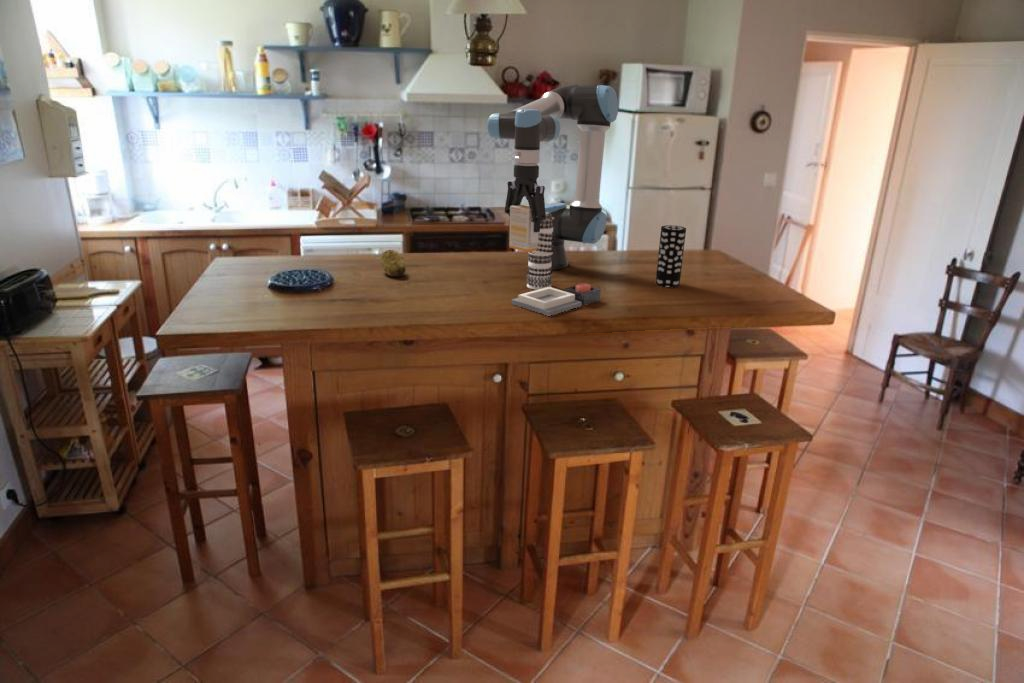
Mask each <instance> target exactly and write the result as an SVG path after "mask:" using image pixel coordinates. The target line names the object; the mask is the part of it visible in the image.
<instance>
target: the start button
mask: <svg viewBox="0 0 1024 683" xmlns="http://www.w3.org/2000/svg"><path fill="white" fill-rule="evenodd" d="M575 285H576V286H575ZM575 285H574V286H575V290H578V291H581V292H587V291H590V289H591V287H592V285H591V284H589V283H583V282H582V283H580V282H579V283H576V284H575Z"/></svg>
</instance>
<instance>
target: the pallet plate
mask: <svg viewBox="0 0 1024 683" xmlns="http://www.w3.org/2000/svg"><path fill="white" fill-rule="evenodd" d="M510 301H511V305H513V306H516V305H517V306H516V307H519V308H521V307H523V309H524V308H526V309H525V310H527V309H529V310H528V311H530V310H532V311H531V312H533V311H535V312H534V313H536V312H538V313H537V314H539V313H542V314H544V315H543V316H545V315H547V316H546V317H548V316H550V317H552V316H551V315H553V316H555V315H554V314H556V315H558V314H557V313H560V312H563V313H565V312H564V311H566V312H568V311H567V310H569V311H571V310H570V309H573V308H576V309H578V308H577V307H579V308H581V307H580V306H582V302H580V301H576V300H575V294H572V293H569V292H565V290H562V289H559V288H556V287H552V286H551V287H546V288H543V289H539V290H531V291H529V292H528V291H527V292H525V293H521V294H518V296H517V298H512V299H511V300H510ZM582 307H583V306H582ZM573 310H574V309H573ZM542 314H541V315H542ZM560 314H561V313H560Z"/></svg>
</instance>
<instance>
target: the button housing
mask: <svg viewBox="0 0 1024 683" xmlns="http://www.w3.org/2000/svg"><path fill="white" fill-rule="evenodd" d="M575 286H576V284H575V285H572V286H569V287H568V286H567V287H565V289H564V291H565V292H569V293H572V294H575V300H576V301H580V302H582V305H586V304H589V305H591V304H590V303H592V304H594V303H593V302H595V303H597V302H596V301H599V302H600V301H601V291H602V289H601V288H598V287H594V286H591V289H590V291H587V292H581V291H578V290H575ZM586 306H587V305H586Z"/></svg>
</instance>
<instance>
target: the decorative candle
mask: <svg viewBox="0 0 1024 683" xmlns="http://www.w3.org/2000/svg"><path fill="white" fill-rule="evenodd" d="M545 213H546V219H545V220H542V221H541V222H540V232H539V234H538V250H535V251H531V252H527V253H528V258H529V262H528V261H527V262H528V263H527V264H528V265H527V267H526V269H527V271H526V273H527V275H526V288H528V289H529V290H533V291H535V290H539V289H543V288H546V287H552V284H553V283H552V282H553V281H552V279H553V276H552V274H553V271H552V266H551V264H552V261H551V255H552V254H553V251H554V250H553V249H551V248H553V247H554V245H552V242H553V241H555V240H554V239H553V238H552V237H554V236H555V235H554V234H553V233H552V232H553V219H554V217H552V215H551V214H550V213H548V212H545Z"/></svg>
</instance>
